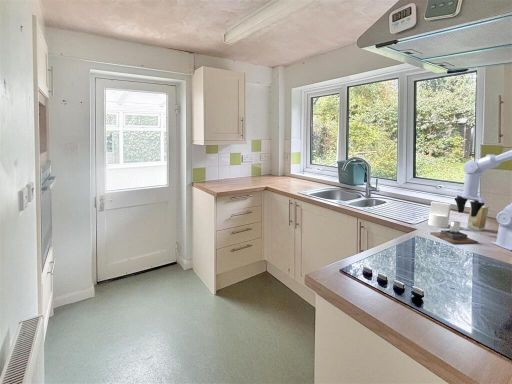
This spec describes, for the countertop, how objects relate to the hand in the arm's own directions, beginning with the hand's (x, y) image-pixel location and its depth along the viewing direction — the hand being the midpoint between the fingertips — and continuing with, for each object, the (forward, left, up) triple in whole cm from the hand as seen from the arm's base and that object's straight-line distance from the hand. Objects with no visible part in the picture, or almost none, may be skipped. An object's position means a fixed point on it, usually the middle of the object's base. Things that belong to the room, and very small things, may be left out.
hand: (467, 214), depth 145 cm
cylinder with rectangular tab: (+14, +3, -10) cm, 17 cm away
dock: (-7, +12, -9) cm, 17 cm away
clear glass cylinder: (-7, +12, -9) cm, 16 cm away
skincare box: (+6, -12, -10) cm, 16 cm away
